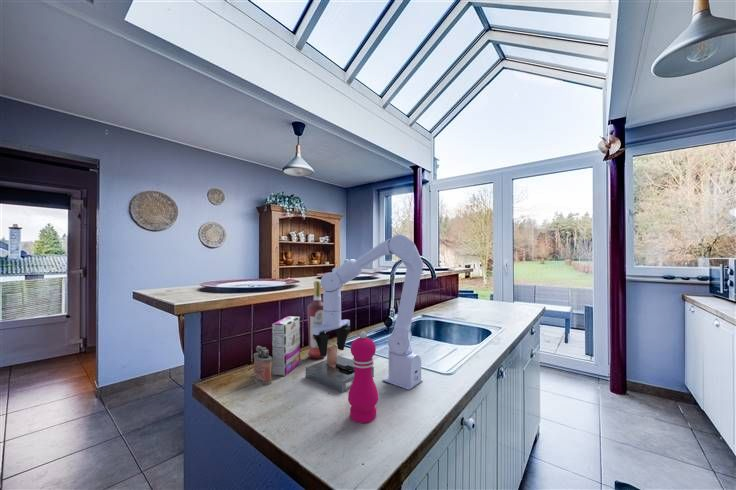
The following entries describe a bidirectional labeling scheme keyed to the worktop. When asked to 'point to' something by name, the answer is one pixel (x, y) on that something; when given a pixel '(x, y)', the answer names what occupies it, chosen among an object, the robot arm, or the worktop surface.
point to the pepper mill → (363, 381)
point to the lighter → (262, 366)
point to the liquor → (315, 320)
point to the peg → (332, 356)
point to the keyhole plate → (332, 373)
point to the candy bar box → (285, 345)
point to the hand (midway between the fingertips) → (332, 352)
